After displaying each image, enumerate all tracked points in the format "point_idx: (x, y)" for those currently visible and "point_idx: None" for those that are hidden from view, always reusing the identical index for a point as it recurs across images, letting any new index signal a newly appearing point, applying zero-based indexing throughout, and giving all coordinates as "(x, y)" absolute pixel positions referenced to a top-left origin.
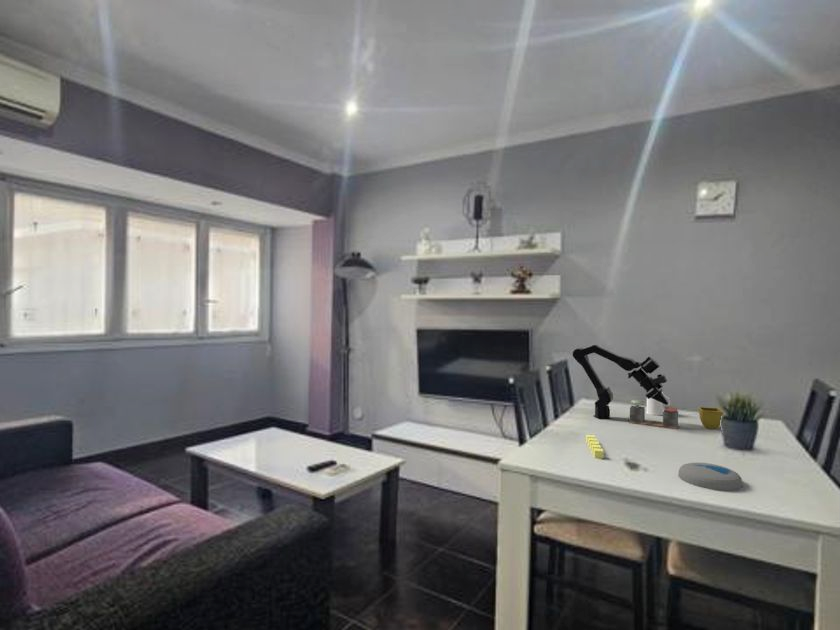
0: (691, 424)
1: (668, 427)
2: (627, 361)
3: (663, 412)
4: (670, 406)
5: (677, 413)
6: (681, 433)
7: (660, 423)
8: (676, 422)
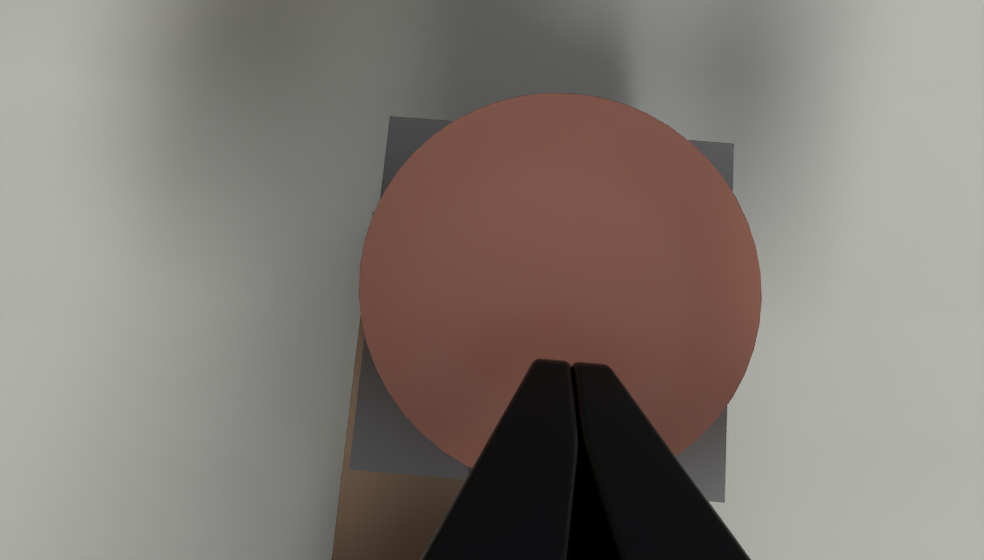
0: (189, 30)
1: None
2: None
3: (715, 489)
4: (371, 292)
5: None
6: (926, 178)
7: None
8: None
